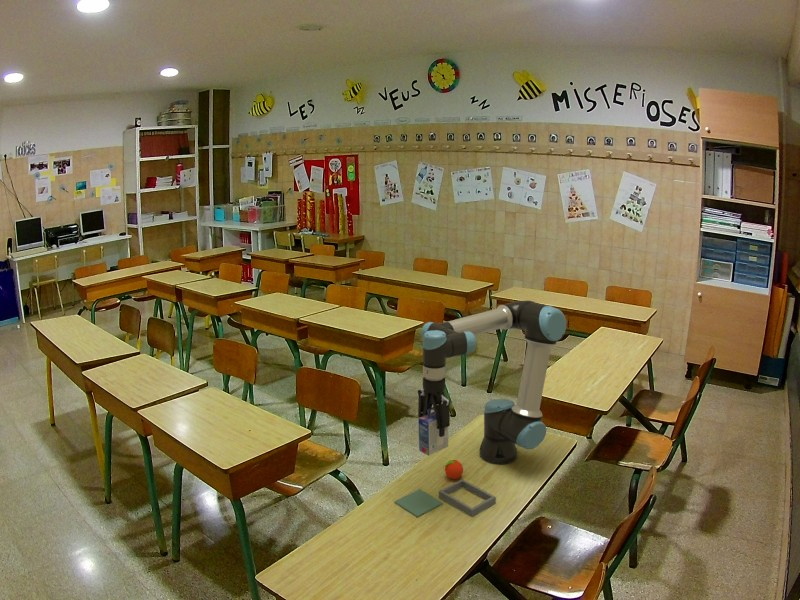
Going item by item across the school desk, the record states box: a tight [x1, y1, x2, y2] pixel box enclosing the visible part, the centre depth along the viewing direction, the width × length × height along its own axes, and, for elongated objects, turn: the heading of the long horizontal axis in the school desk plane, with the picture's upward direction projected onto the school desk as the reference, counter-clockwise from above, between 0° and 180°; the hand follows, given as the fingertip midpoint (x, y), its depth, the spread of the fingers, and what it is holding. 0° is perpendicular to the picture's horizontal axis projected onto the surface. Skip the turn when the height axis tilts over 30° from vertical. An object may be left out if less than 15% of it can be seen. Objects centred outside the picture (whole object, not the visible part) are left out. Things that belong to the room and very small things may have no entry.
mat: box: [394, 488, 444, 518], centre depth 214 cm, size 12×12×1 cm
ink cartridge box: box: [418, 406, 449, 456], centre depth 208 cm, size 10×6×14 cm, turn 133°
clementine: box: [442, 459, 464, 480], centre depth 230 cm, size 8×7×7 cm
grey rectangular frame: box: [438, 478, 497, 518], centre depth 216 cm, size 12×16×2 cm
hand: (433, 441), depth 209 cm, fingers closed on ink cartridge box, 5 cm apart
